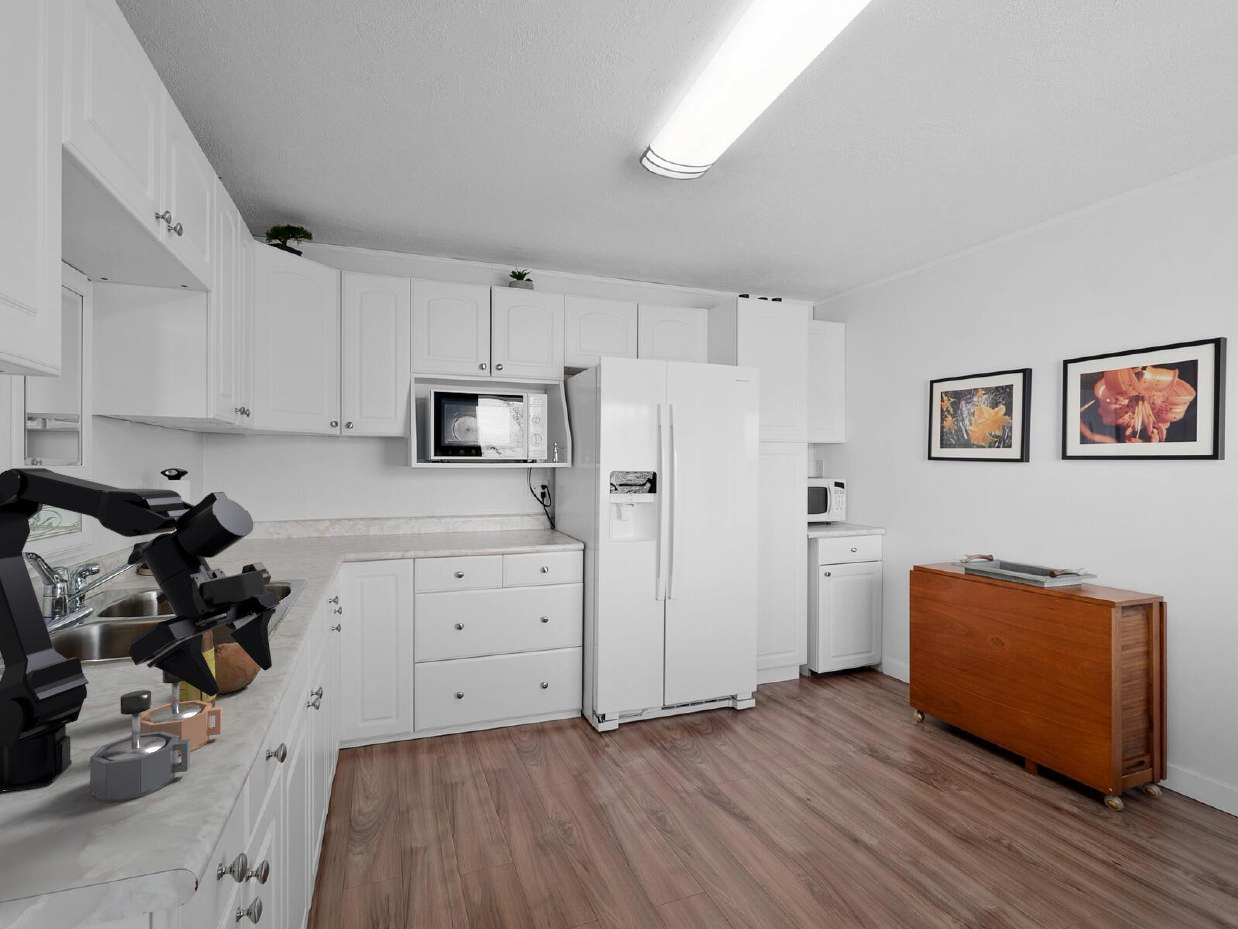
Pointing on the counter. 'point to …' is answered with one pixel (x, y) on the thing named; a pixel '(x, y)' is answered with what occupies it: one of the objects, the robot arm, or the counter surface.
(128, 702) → the coffee tamper
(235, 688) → the onion
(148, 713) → the bowl
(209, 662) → the sauce bottle
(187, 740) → the grey octagonal cup
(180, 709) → the black-handled metal tamper
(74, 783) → the counter surface
